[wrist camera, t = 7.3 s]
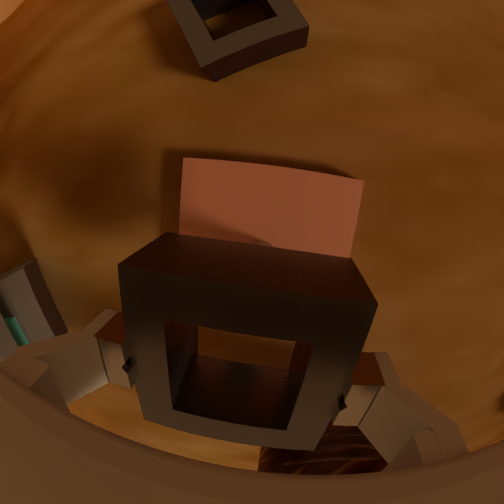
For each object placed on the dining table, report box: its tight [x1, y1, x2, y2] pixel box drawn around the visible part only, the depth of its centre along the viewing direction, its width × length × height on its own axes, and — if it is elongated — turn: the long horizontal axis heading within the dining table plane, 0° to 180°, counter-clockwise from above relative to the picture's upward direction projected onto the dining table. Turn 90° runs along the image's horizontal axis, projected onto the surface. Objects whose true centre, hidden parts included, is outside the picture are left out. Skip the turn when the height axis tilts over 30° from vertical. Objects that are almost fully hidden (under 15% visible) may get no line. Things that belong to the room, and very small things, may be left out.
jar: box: [258, 418, 388, 475], centre depth 14 cm, size 12×12×15 cm
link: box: [118, 232, 378, 451], centre depth 8 cm, size 6×6×3 cm
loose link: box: [166, 0, 309, 82], centre depth 12 cm, size 6×6×3 cm
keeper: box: [179, 158, 364, 258], centre depth 14 cm, size 10×10×7 cm
